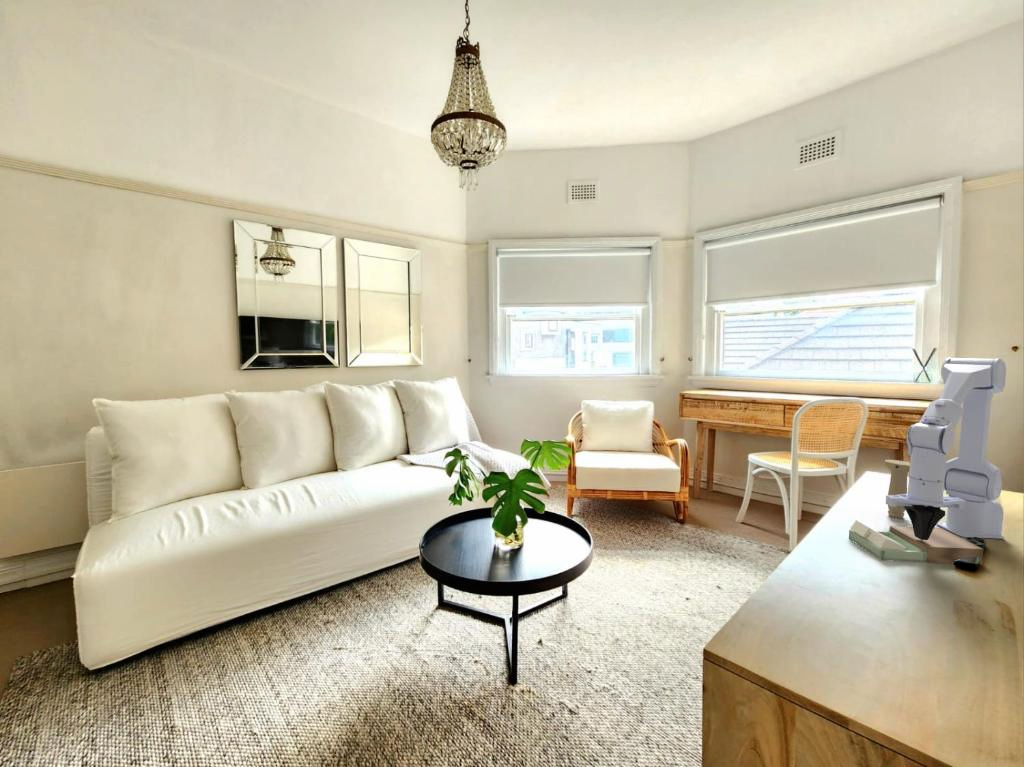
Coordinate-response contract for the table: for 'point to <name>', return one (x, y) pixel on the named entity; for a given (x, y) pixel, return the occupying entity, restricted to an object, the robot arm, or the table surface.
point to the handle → (897, 484)
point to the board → (940, 545)
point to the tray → (908, 554)
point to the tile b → (884, 541)
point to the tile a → (861, 529)
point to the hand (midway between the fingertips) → (921, 538)
